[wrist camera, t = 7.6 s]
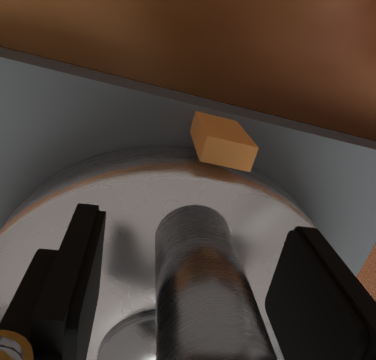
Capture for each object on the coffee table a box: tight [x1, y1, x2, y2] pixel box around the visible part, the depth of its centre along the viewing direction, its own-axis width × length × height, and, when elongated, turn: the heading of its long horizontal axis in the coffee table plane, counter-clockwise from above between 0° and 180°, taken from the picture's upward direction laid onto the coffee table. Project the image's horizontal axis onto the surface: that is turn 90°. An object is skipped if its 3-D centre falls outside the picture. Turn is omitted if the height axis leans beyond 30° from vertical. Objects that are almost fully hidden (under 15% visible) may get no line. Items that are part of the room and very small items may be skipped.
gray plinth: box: [0, 47, 376, 277], centre depth 16 cm, size 18×18×5 cm
